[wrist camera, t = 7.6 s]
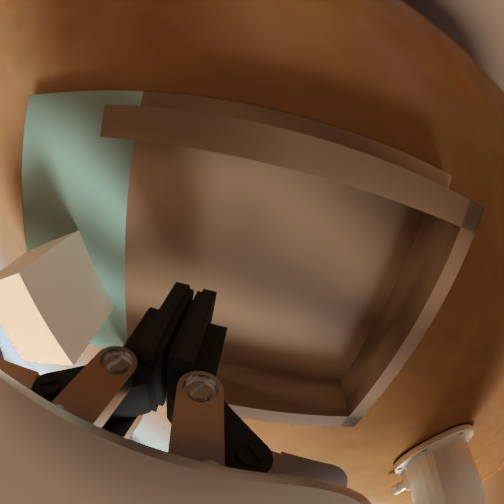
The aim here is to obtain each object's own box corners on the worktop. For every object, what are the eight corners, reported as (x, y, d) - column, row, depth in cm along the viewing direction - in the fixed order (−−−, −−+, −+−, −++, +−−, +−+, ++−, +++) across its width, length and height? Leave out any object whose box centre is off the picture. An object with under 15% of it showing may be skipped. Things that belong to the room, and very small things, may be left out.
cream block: (114, 307, 15) (73, 365, 10) (63, 314, 16) (24, 361, 11) (79, 230, 13) (19, 272, 8) (30, 249, 14) (-20, 287, 9)
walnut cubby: (339, 388, 18) (348, 432, 15) (48, 315, 17) (21, 346, 14) (442, 172, 12) (489, 189, 8) (39, 95, 11) (-9, 97, 7)
